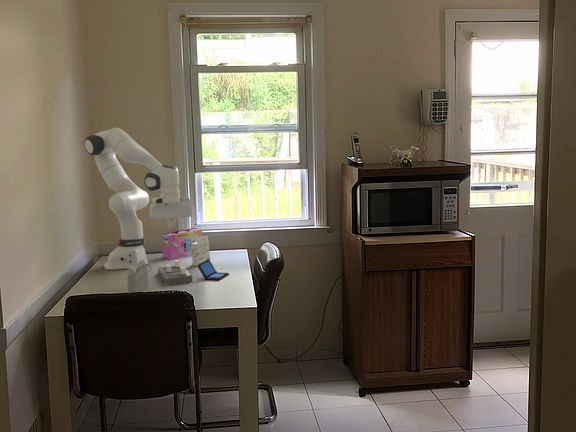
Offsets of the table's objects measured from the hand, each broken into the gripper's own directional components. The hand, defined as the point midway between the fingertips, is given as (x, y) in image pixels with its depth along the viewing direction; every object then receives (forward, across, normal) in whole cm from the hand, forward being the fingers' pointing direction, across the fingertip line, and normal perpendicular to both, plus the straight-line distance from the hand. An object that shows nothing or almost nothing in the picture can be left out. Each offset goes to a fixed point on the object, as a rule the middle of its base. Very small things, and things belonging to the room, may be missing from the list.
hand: (171, 226), depth 288 cm
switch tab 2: (+19, -2, +3) cm, 20 cm away
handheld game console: (+23, -16, +19) cm, 33 cm away
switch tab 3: (+19, -2, +19) cm, 27 cm away
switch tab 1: (+19, +4, +11) cm, 22 cm away
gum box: (+24, -12, -39) cm, 47 cm away
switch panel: (+23, +1, +11) cm, 25 cm away
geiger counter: (+23, +20, +37) cm, 48 cm away
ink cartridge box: (+23, -16, -12) cm, 30 cm away
